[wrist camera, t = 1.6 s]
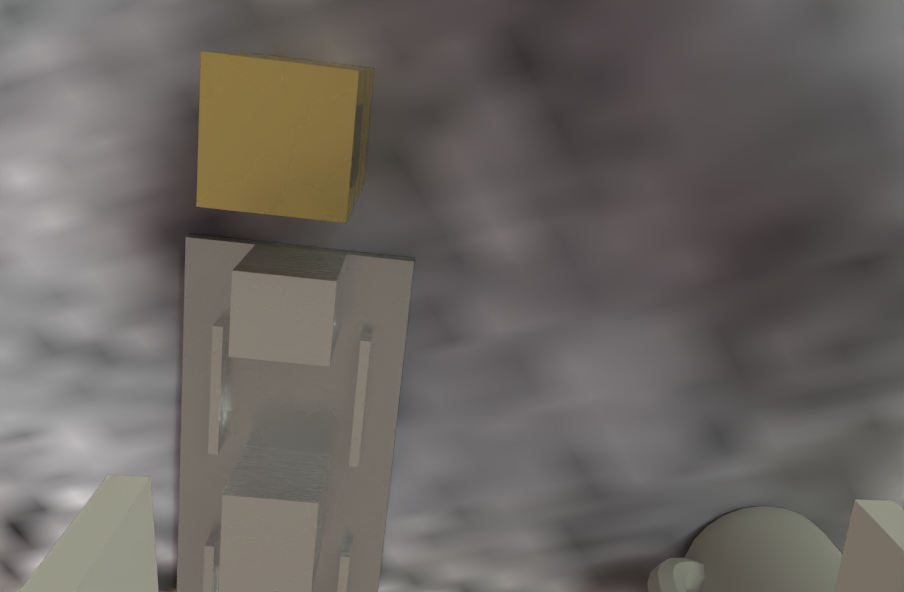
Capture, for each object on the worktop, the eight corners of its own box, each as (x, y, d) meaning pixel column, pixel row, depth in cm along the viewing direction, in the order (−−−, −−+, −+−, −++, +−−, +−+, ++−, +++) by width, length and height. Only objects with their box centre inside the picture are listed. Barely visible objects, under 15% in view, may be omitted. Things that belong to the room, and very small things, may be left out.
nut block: (256, 53, 30) (199, 51, 22) (375, 68, 30) (360, 70, 22) (250, 170, 31) (194, 206, 23) (365, 183, 31) (347, 223, 23)
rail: (190, 233, 31) (152, 262, 27) (414, 257, 32) (413, 289, 28) (177, 683, 38) (145, 765, 33) (366, 695, 38) (359, 778, 34)
